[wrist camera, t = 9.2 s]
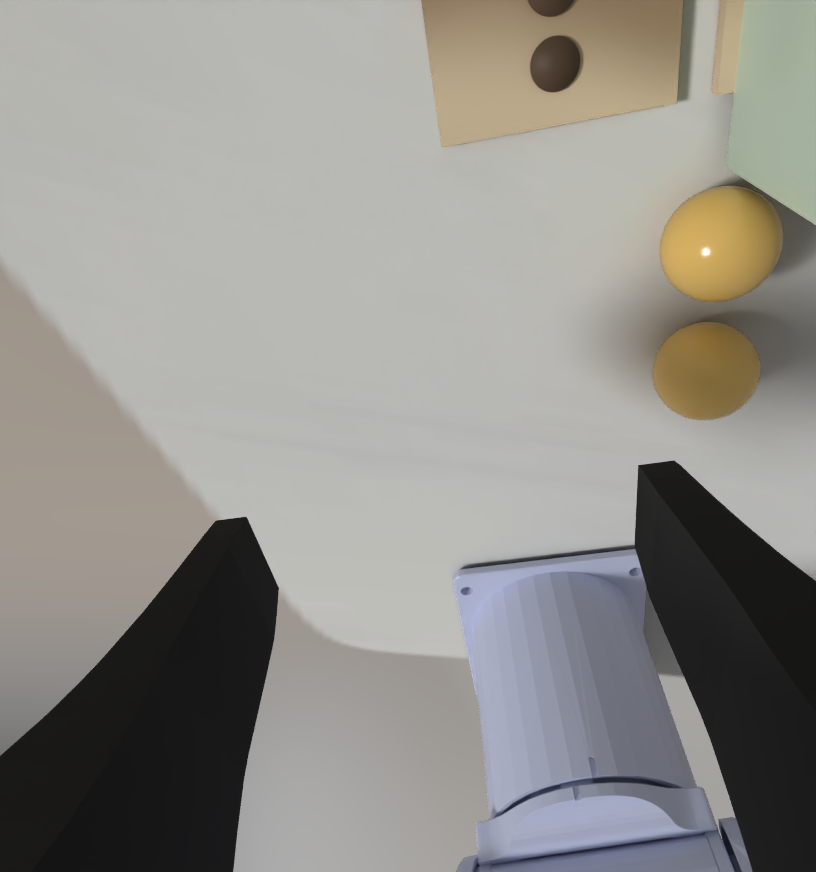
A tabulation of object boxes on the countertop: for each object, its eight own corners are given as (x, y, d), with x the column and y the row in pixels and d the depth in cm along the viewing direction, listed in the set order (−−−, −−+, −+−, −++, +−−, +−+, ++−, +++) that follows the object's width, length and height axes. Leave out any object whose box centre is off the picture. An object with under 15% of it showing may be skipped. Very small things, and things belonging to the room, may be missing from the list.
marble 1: (746, 267, 19) (794, 311, 17) (643, 283, 19) (676, 328, 17) (760, 163, 17) (817, 195, 15) (647, 183, 18) (685, 217, 15)
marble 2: (729, 379, 21) (770, 432, 19) (638, 392, 22) (666, 446, 19) (741, 297, 20) (787, 344, 17) (642, 313, 20) (673, 361, 18)
